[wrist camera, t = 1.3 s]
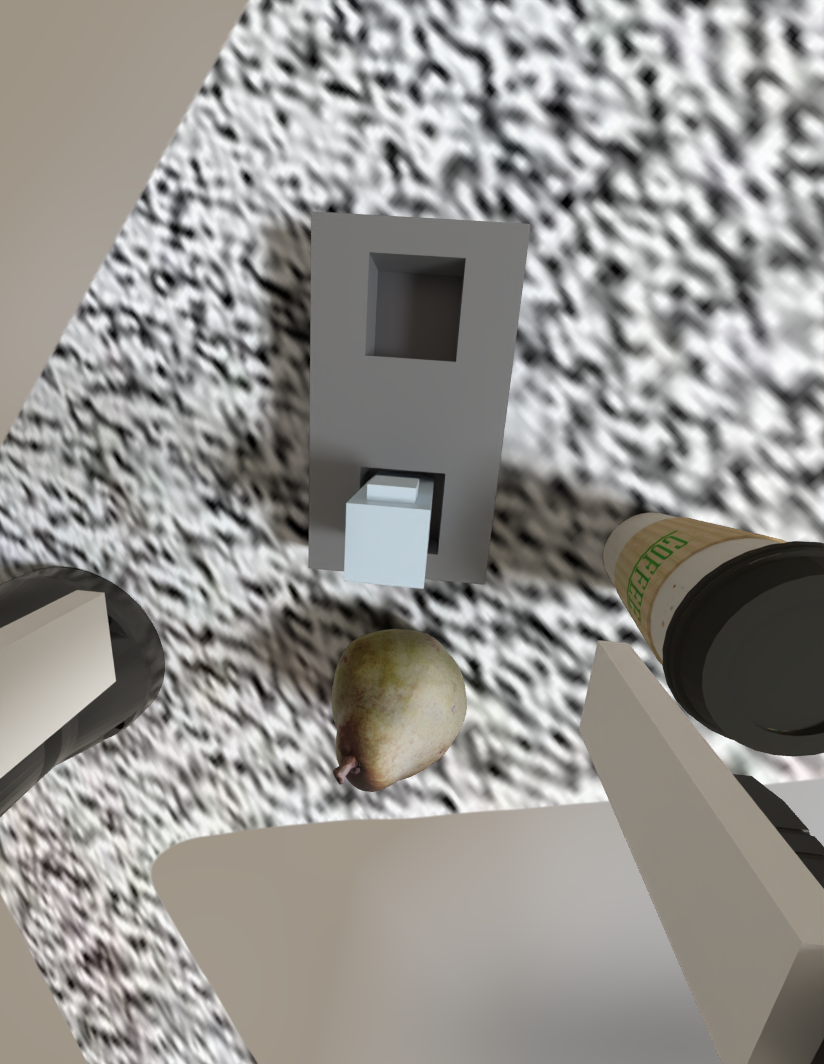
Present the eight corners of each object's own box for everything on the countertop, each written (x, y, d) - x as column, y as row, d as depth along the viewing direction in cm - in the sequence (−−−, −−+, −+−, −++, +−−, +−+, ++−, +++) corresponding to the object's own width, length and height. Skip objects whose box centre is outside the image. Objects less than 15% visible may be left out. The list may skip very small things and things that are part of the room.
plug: (375, 524, 32) (343, 581, 22) (379, 459, 31) (346, 486, 21) (429, 529, 32) (423, 588, 22) (435, 464, 31) (431, 493, 20)
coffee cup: (551, 539, 32) (639, 644, 18) (674, 458, 30) (885, 504, 16) (621, 637, 34) (751, 804, 20) (742, 567, 32) (986, 697, 18)
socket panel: (323, 549, 34) (308, 568, 30) (329, 238, 28) (311, 211, 24) (479, 564, 33) (484, 584, 29) (518, 249, 28) (530, 224, 24)
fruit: (326, 630, 36) (271, 736, 24) (431, 586, 34) (426, 677, 23) (382, 728, 38) (357, 867, 26) (484, 691, 36) (503, 823, 25)
